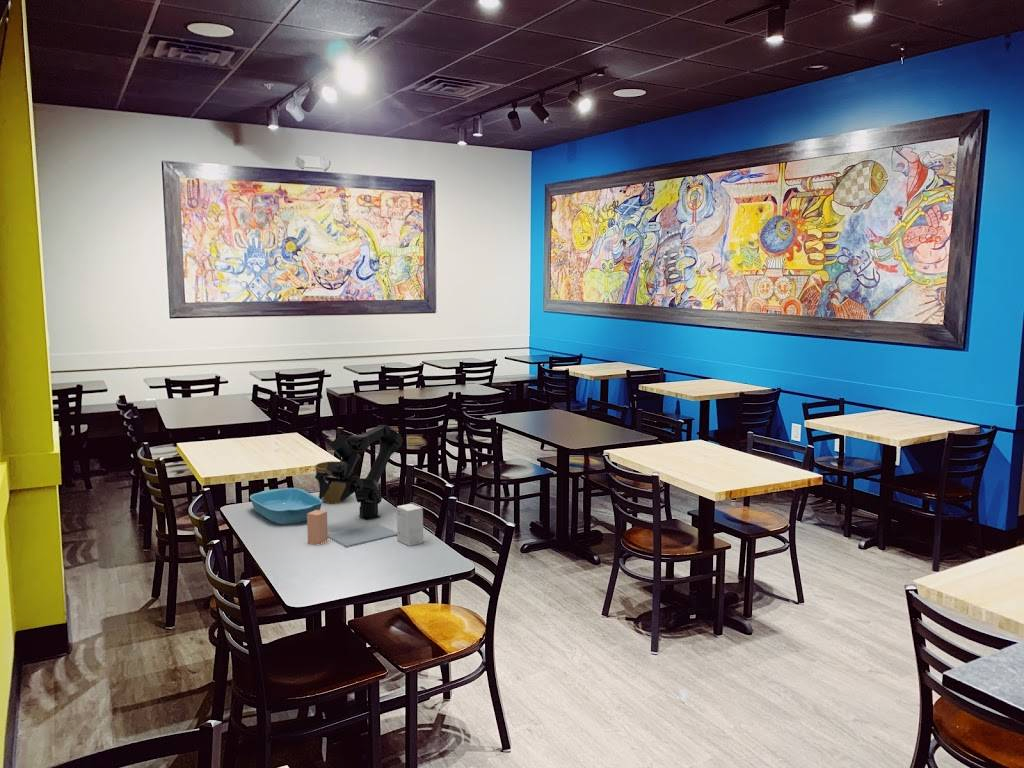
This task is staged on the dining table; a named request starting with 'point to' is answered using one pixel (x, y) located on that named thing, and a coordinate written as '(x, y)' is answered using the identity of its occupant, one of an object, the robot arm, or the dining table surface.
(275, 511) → the casserole dish
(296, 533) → the dining table surface
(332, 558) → the dining table surface
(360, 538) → the mat
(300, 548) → the dining table surface
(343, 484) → the plant pot
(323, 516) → the block
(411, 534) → the small box
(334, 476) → the robot arm
